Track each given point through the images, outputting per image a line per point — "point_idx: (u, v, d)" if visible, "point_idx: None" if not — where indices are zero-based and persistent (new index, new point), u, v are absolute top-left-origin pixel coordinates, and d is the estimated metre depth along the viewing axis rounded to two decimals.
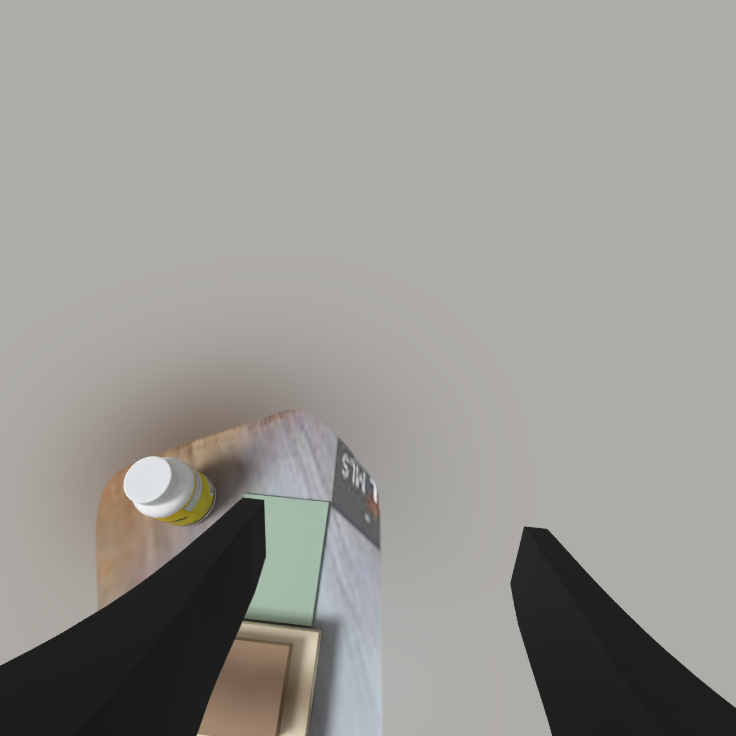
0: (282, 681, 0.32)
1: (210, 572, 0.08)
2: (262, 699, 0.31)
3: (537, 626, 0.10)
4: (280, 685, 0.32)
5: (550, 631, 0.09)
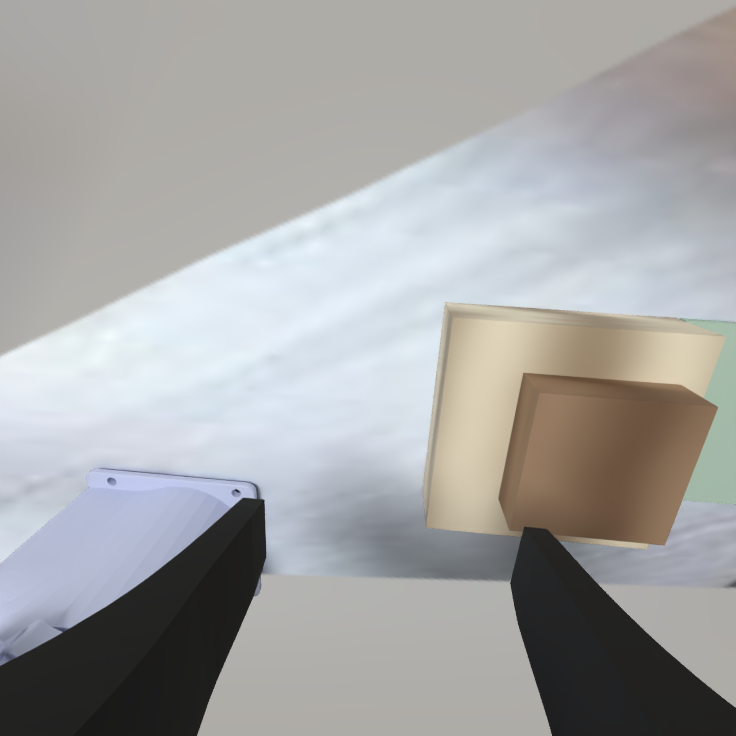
0: (605, 538, 0.16)
1: (210, 572, 0.08)
2: (580, 507, 0.16)
3: (537, 626, 0.10)
4: (599, 534, 0.16)
5: (550, 631, 0.09)
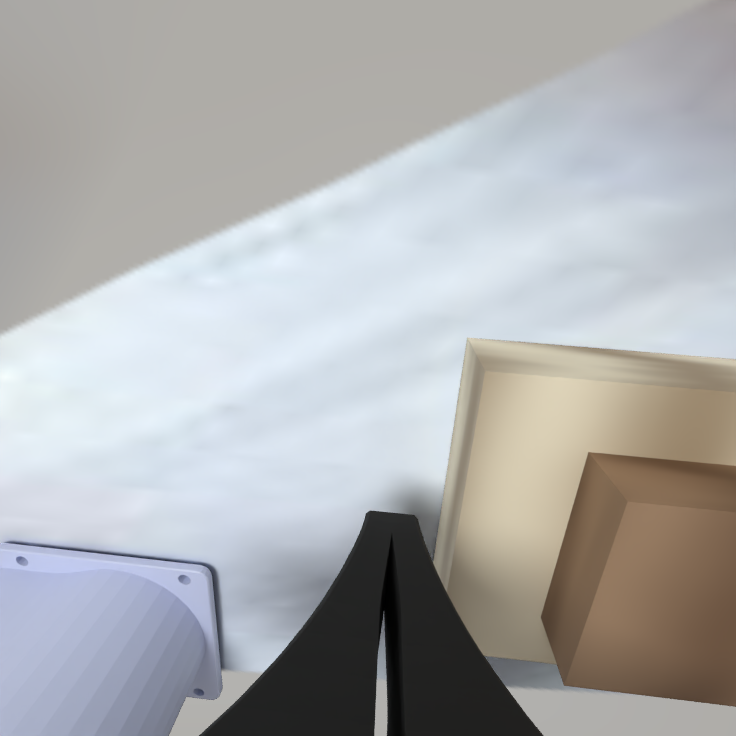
0: (710, 701, 0.11)
1: (382, 591, 0.08)
2: (676, 661, 0.10)
3: (388, 609, 0.10)
4: (700, 696, 0.11)
5: (391, 612, 0.09)
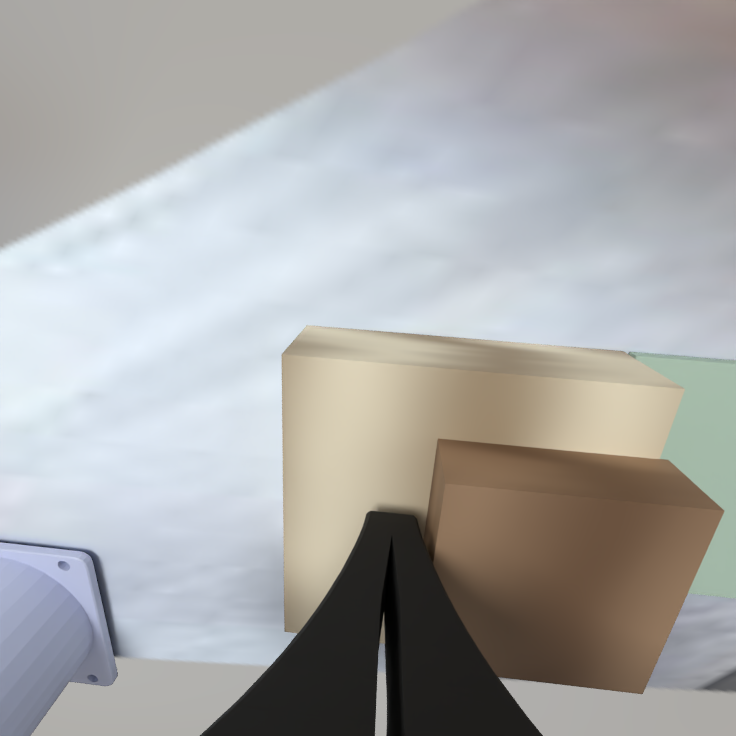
0: (556, 682, 0.11)
1: (382, 591, 0.08)
2: (518, 642, 0.11)
3: (388, 609, 0.10)
4: (546, 677, 0.11)
5: (391, 613, 0.09)
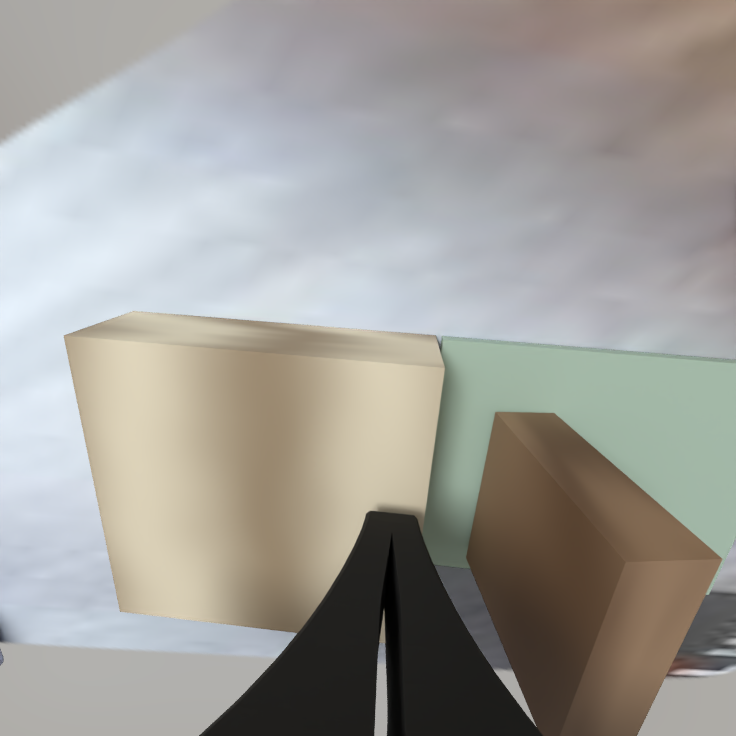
0: None
1: (382, 591, 0.08)
2: None
3: (388, 609, 0.10)
4: None
5: (391, 613, 0.09)
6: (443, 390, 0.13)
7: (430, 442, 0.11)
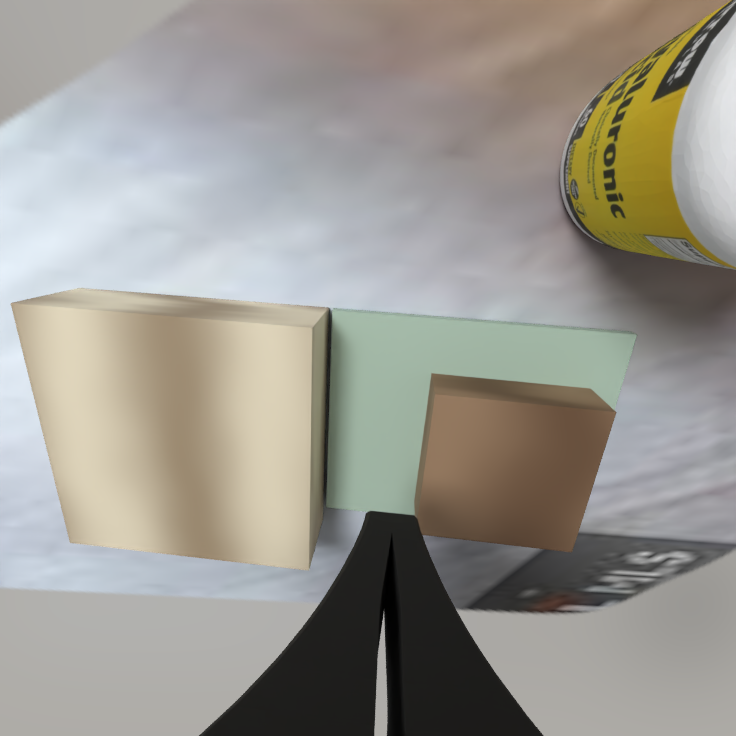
0: None
1: (382, 591, 0.08)
2: None
3: (388, 609, 0.10)
4: None
5: (391, 613, 0.09)
6: (336, 354, 0.16)
7: (308, 390, 0.14)
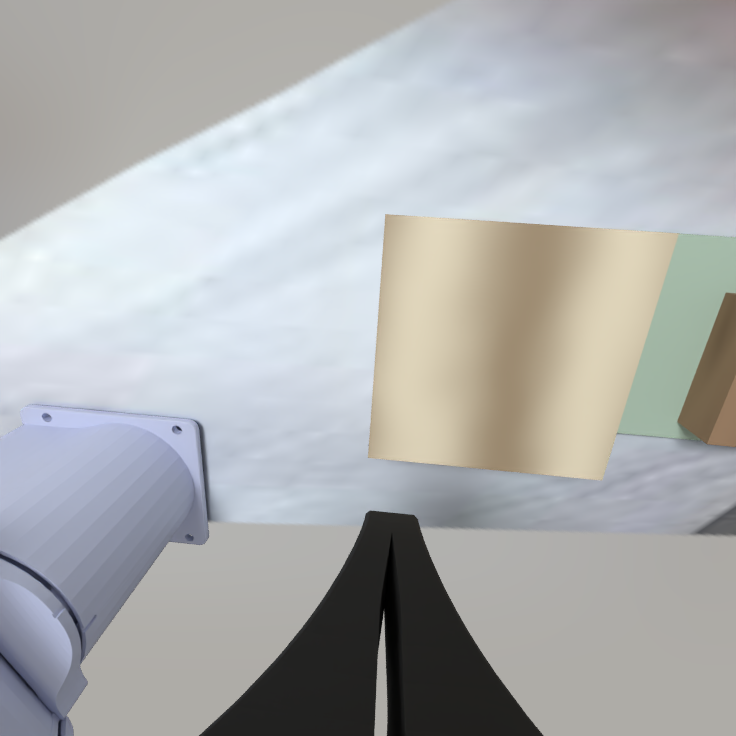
0: None
1: (382, 591, 0.08)
2: None
3: (388, 609, 0.10)
4: None
5: (391, 613, 0.09)
6: None
7: (655, 296, 0.15)
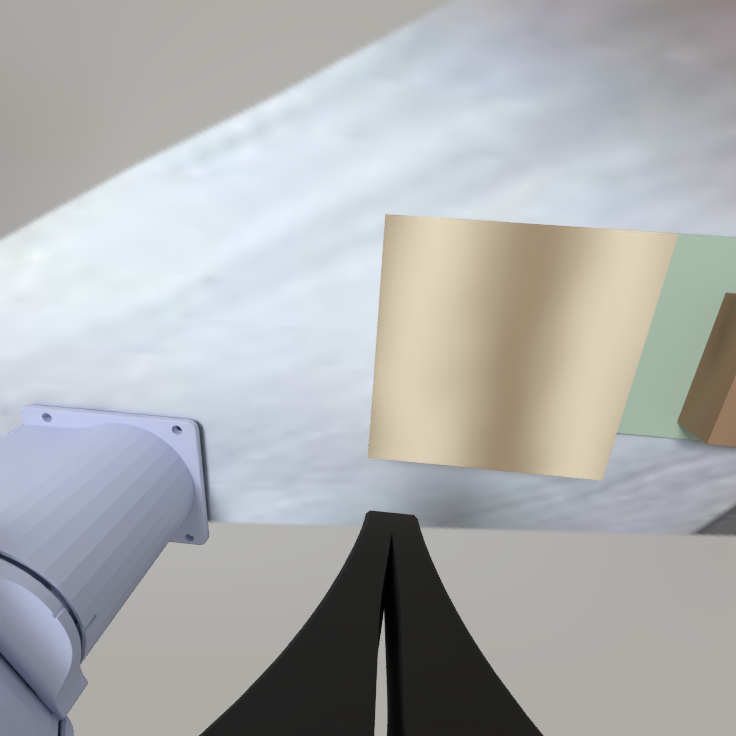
0: None
1: (382, 591, 0.08)
2: None
3: (388, 609, 0.10)
4: None
5: (391, 613, 0.09)
6: None
7: (655, 296, 0.15)
